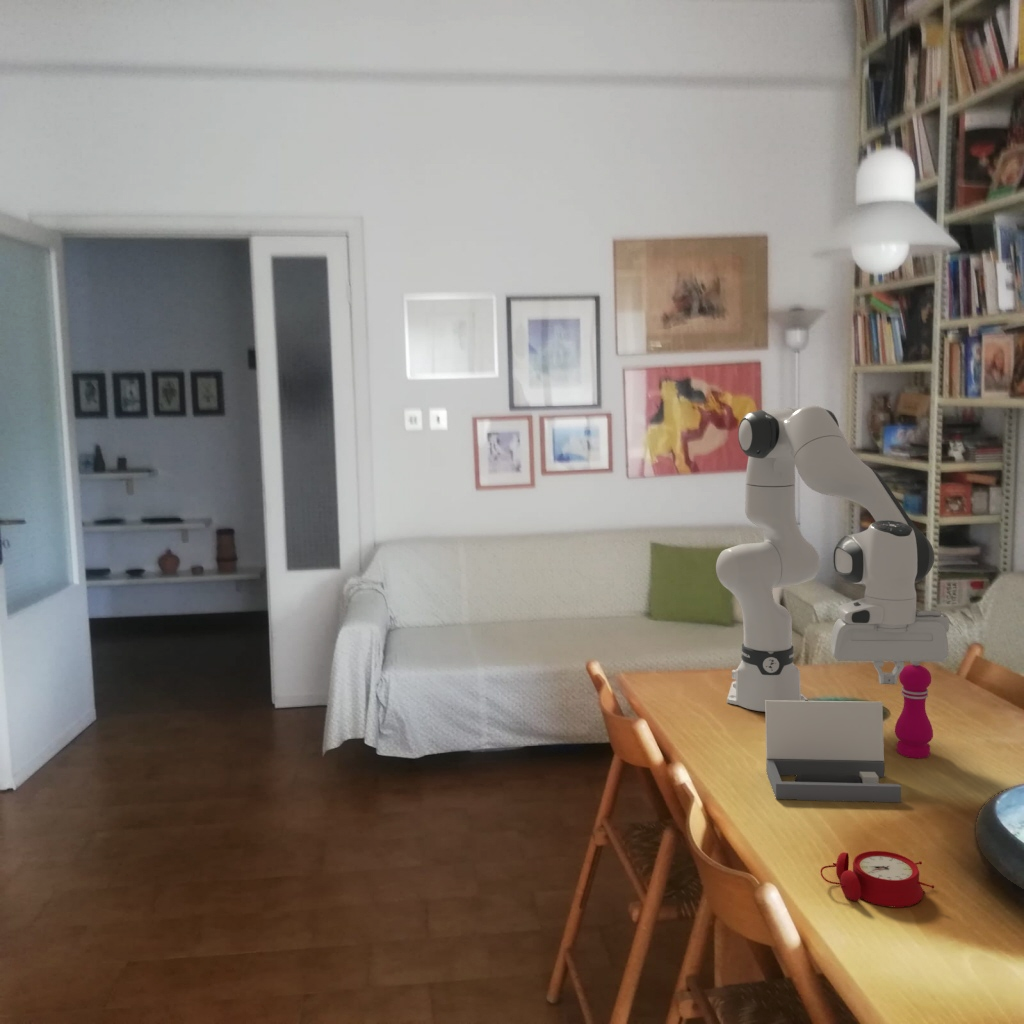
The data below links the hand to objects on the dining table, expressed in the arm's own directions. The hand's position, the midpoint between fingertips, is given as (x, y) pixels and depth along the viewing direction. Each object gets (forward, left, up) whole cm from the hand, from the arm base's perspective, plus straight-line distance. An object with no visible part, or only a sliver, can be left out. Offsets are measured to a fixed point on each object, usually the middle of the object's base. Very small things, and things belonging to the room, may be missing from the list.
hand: (887, 683), depth 176 cm
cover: (-6, -10, -12) cm, 17 cm away
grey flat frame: (0, -10, -20) cm, 23 cm away
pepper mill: (-18, +10, -21) cm, 29 cm away
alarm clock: (+37, -11, -21) cm, 44 cm away
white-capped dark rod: (0, -9, -20) cm, 22 cm away
